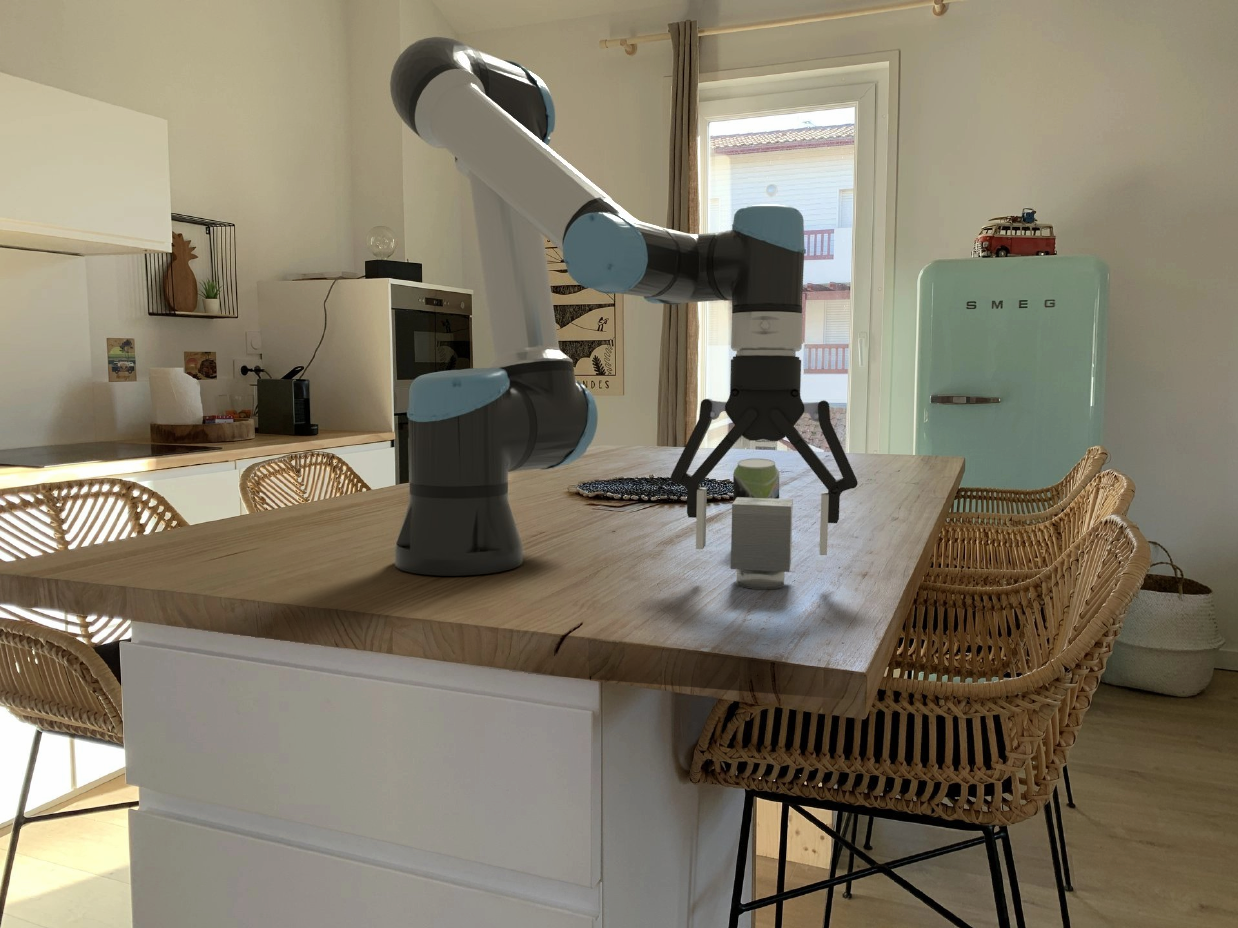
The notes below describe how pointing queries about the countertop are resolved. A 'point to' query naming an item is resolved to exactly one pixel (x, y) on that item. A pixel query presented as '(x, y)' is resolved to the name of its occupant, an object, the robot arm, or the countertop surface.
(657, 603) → the countertop surface
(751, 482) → the beverage can
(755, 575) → the ratchet
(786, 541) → the brushed steel cube
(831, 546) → the countertop surface
